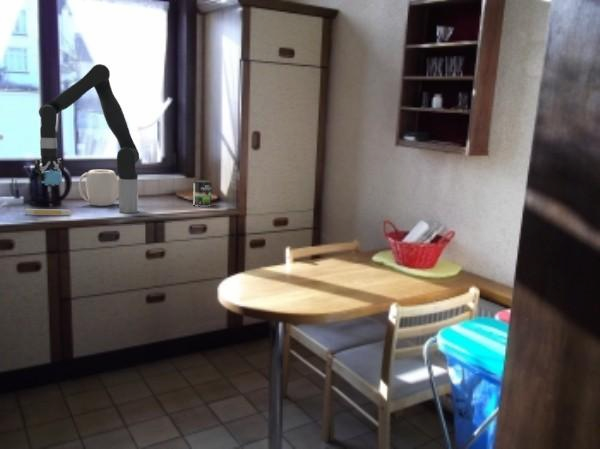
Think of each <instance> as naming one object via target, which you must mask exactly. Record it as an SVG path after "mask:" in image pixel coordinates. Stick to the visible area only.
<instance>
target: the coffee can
mask: <svg viewBox="0 0 600 449" xmlns="http://www.w3.org/2000/svg"><path fill="white" fill-rule="evenodd" d="M192 182H193V190H192V191H193V193H192V195H193V196H192V198H193V199H192V202H193V203H192V206H193V205H195V206H194V207H198V206H200V207H199V208H201V207H202V208H203V207H204V208H207V207H208V206H209V207H211V206H212V182H213V181H212V180H207V179H194V180H193V181H192ZM209 207H208V208H209Z"/></svg>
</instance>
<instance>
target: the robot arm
mask: <svg viewBox="0 0 600 449" xmlns="http://www.w3.org/2000/svg"><path fill="white" fill-rule="evenodd" d="M110 75H111V73H110V69H109V68H108V67H107V66H106V65H105V64H100V63H98V64H95V65H93V66H92V67H91V68H90V70H89V71H87V73H86V74H85V75H84V76H83V77H81V78H80V79H79V80H77V81H76V82H75V83H73V84H72V85H71V86H69V87H67V88H66V89H65V90H64V91H62V92H61V93H59V94H58V95H57V96H55V98H53V99H51V100H49V101H48V102H46V103H44V104H43V105H42V106H40V107H39V109H38V115H39V116H40V121H41V122H40V124H41V125H40V128H39V130H40V140H39V144H40V149H39V150H40V159H35V160H34V172H35V173H38V180H39V181H40V182H41V181H44V174H43V172H44V171H47V169H51V168H52V169H53V170H54V171H59V172H63V171H65V165H64V158H60V157H59V158H58V140H57V117H58V114H59V113H61V112H62V111H63V110H67V108H70V107H71V106H72V105H73V104H75V103H76V102H77V101H78V100H79V99H81V98H82V97H83V96H84V95H85V94H86V93H88V91H90V90H91V89H93V88H94V89H95V93H96V94H97V96H98V100H99V103H100V107H101V111H102V113H103V116H104V117H103V118H104V119H105V121H106V125H107V126H108V129H109V130H110V131H111V132H112V134H113V135H114V137H115V138H116V140H117V142H118V145H119V148H120V149H119V150H118V151H117V153H116V154H117V155H116V166H117V167H116V170H117V175H118V177H119V198H118V211H119V213H121V214H122V213H123V214H125V213H126V214H134V213H138V212H139V192H138V191H139V190H138V189H139V188H138V184H139V183H138V180H139V179H138V173H137V171H136V164H137V163H138V162H139V161H140V160H139V159H140V154H139V153H140V152H139V150H138V148H137V146H136V144H135V142H134V140H133V138H132V136H131V133H130V130H129V127H128V124H127V121H126V118H125V114H124V112H123V109H122V107H121V105H120V103H119V101H118V99H117V98H116V96H115V95H114V92H113V90H112V86H111V84H110Z"/></svg>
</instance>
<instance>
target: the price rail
mask: <svg viewBox="0 0 600 449" xmlns="http://www.w3.org/2000/svg"><path fill="white" fill-rule="evenodd" d="M70 211H71V209H58V208H57V209H55V208H54V209H53V208H51V209H50V208H49V209H48V208H46V209H45V208H40V209H39V208H25V209H24V215H25V216H36V215H37V216H71V215H70Z"/></svg>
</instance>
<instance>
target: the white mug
mask: <svg viewBox="0 0 600 449" xmlns="http://www.w3.org/2000/svg"><path fill="white" fill-rule="evenodd" d="M84 177H86V178H85V190H86V191H85V192H86V195H85V194H84V193H83V192H84V191H83V190H82V181H83V178H84ZM77 187H78V192H79V194H80V196H81V197H82V199H83V200H85V202H88V203H89V204H90V205H92V206H99V207H104V206H105V207H107V206H108V207H109V206H110V205H114V203H115V201H116V200H117V199H119V176H117V175H116V172H115V171H114V170H111V169H90V170H88V172H84V173H83V174H82V175H81V176H80V177H79V181H78V186H77ZM86 196H87V197H86Z"/></svg>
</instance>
